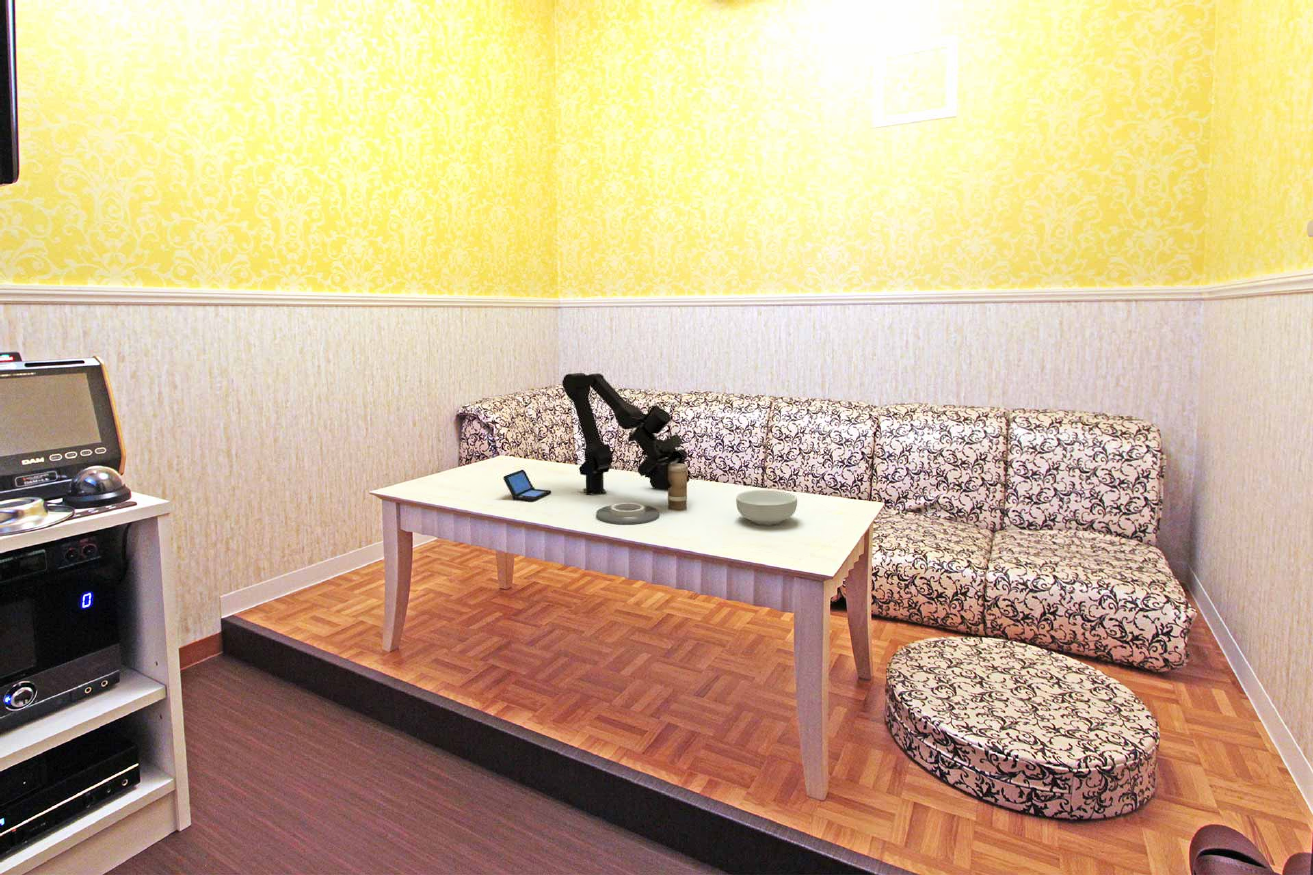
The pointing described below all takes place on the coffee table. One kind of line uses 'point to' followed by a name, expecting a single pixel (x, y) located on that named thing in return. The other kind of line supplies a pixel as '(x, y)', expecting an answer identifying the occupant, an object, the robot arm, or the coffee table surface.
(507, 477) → the handheld game console
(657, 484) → the black rounded block
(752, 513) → the cereal bowl
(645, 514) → the round tray
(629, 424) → the robot arm
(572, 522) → the coffee table surface
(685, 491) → the brown cylindrical container
